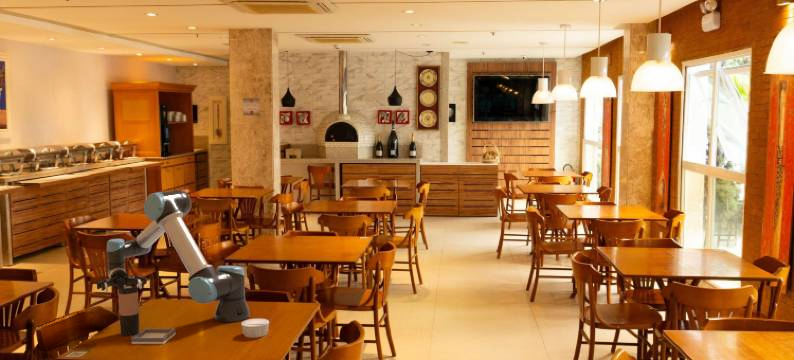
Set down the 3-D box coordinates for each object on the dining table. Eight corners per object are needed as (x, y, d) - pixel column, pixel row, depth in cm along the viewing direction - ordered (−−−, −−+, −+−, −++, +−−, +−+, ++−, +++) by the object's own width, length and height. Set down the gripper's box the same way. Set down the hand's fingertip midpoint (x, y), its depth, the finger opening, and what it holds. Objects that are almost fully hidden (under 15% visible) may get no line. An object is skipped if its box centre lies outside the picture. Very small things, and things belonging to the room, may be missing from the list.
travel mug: (133, 336, 298) (131, 288, 296) (116, 336, 299) (114, 288, 298) (143, 331, 305) (141, 284, 303) (127, 330, 307) (124, 283, 305)
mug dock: (175, 334, 300) (175, 328, 300) (163, 343, 287) (163, 338, 287) (145, 334, 301) (144, 328, 301) (131, 343, 288) (131, 338, 288)
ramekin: (246, 340, 290) (245, 327, 290) (238, 333, 300) (237, 320, 300) (273, 336, 295) (272, 323, 295) (264, 329, 305) (264, 316, 305)
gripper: (148, 282, 335) (154, 292, 316) (89, 288, 324) (92, 299, 305) (147, 266, 334) (154, 275, 315) (88, 272, 323) (91, 281, 304)
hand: (123, 287), depth 310 cm, fingers open, 13 cm apart
